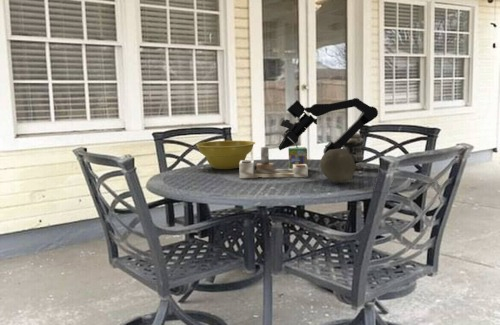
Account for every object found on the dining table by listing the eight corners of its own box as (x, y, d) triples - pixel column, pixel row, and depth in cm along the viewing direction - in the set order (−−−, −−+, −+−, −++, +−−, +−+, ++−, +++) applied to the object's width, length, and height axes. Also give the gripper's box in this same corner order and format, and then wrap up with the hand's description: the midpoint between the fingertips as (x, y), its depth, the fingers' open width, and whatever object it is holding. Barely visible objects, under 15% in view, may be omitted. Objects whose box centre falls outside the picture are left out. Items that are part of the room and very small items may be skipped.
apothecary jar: (364, 170, 254) (364, 134, 252) (339, 170, 256) (339, 134, 254) (362, 166, 266) (362, 132, 264) (339, 167, 268) (339, 132, 266)
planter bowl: (244, 172, 258) (243, 146, 257) (186, 171, 269) (185, 145, 267) (263, 164, 289) (262, 140, 287) (211, 163, 299) (210, 140, 297)
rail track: (306, 173, 250) (306, 157, 249) (308, 176, 238) (307, 160, 237) (241, 174, 252) (240, 159, 251) (239, 178, 240) (239, 162, 239)
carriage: (273, 167, 249) (272, 146, 247) (273, 169, 241) (273, 148, 239) (257, 168, 249) (256, 146, 248) (256, 170, 241) (255, 148, 240)
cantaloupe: (343, 179, 227) (343, 146, 225) (361, 184, 214) (361, 148, 212) (315, 182, 222) (314, 148, 220) (331, 187, 209) (331, 151, 207)
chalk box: (307, 171, 256) (307, 142, 254) (289, 171, 256) (289, 142, 255) (306, 168, 265) (305, 140, 263) (288, 169, 266) (288, 140, 264)
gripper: (289, 112, 250) (267, 135, 252) (290, 113, 232) (266, 138, 234) (305, 128, 251) (283, 151, 253) (308, 130, 232) (284, 155, 234)
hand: (279, 148), depth 243 cm, fingers open, 9 cm apart
